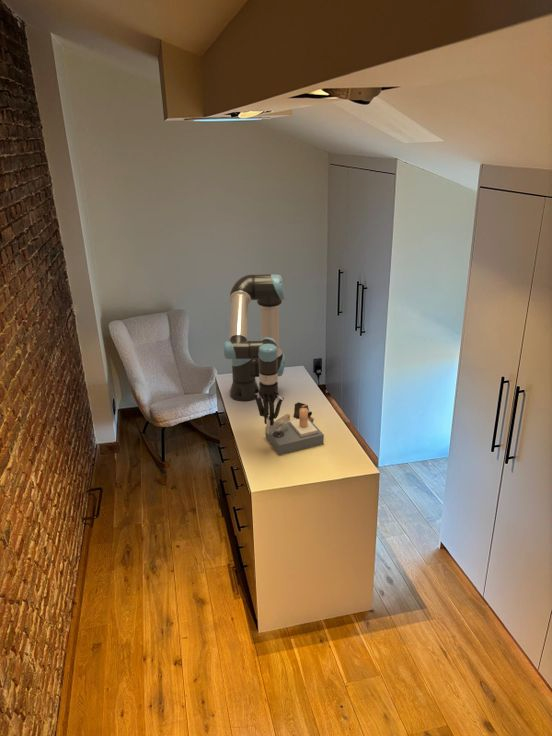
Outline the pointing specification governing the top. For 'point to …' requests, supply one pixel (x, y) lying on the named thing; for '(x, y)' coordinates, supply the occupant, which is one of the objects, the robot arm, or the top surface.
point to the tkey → (278, 424)
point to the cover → (303, 424)
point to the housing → (293, 439)
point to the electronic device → (297, 408)
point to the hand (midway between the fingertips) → (269, 430)
